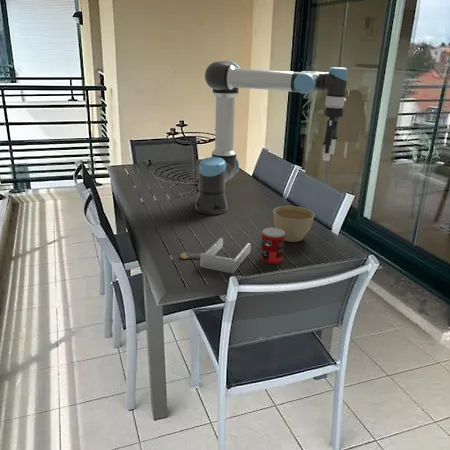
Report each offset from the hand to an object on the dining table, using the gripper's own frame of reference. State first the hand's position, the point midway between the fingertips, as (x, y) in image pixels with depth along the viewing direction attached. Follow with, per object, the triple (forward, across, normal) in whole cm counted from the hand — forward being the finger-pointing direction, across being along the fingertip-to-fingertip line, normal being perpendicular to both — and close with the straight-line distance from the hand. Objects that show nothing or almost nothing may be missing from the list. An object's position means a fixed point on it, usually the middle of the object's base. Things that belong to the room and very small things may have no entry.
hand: (328, 157), depth 195 cm
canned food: (+28, -52, +9) cm, 60 cm away
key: (+28, -62, +36) cm, 77 cm away
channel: (+28, -58, +24) cm, 69 cm away
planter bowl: (+28, -29, +7) cm, 41 cm away
